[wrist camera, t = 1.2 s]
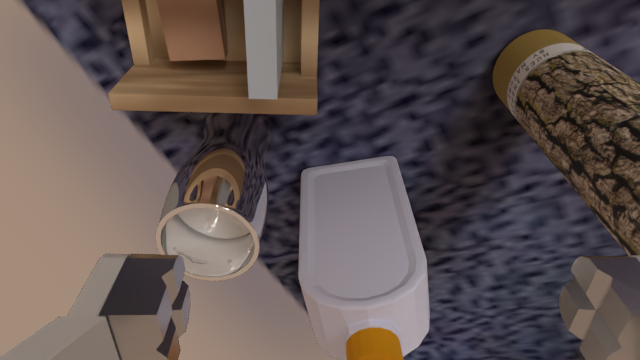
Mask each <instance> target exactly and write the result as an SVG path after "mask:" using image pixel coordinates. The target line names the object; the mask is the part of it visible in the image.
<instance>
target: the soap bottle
mask: <svg viewBox="0 0 640 360" xmlns="http://www.w3.org/2000/svg"><path fill="white" fill-rule="evenodd" d="M298 278H299V282H300V285H301V289H302V293H303V296H304V300H305V304H306V307H307V311H308V314H309V318H310V322H311V325H312V329H313V332H314V335H315V338H316V341H317V344H318V345H319V346H320V347H321V348H322V349H323V350H324V351H325V352H326V353H328V354H329V355H330V356H331V357H333V358H336V359H339V360H403V356H405V355H406V354H408V353H409V352H411V351H412V350H414V349H415V348H417V347H418V346H419V345H420V343H421V342H422V340H423V339H424V337H425V336H426V334H427V333H428V331H429V319H430V312H429V294H428V275H427V259H426V256H425V253H424V249H423V246H422V243H421V239H420V236H419V233H418V229H417V226H416V223H415V219H414V216H413V213H412V209H411V206H410V202H409V199H408V196H407V192H406V189H405V186H404V182H403V179H402V176H401V172H400V169H399V166H398V162H397V159H396V158H395V157H393V156H383V157H377V158H370V159H364V160H357V161H351V162H344V163H338V164H331V165H325V166H318V167H312V168H307V169H305V170H303V171H302V173H301V195H300V232H299V268H298Z"/></svg>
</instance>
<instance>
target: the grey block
mask: <svg viewBox="0 0 640 360" xmlns="http://www.w3.org/2000/svg"><path fill="white" fill-rule="evenodd" d="M244 19H245V38H246V57H247V76H248V95H249V99H277V98H278V91H279V84H280V77H281V69H282V62H283V55H284V0H244Z"/></svg>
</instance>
